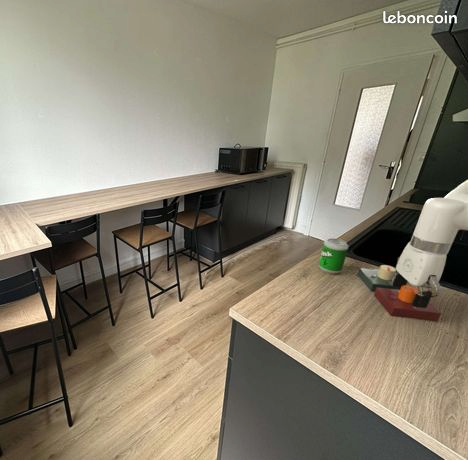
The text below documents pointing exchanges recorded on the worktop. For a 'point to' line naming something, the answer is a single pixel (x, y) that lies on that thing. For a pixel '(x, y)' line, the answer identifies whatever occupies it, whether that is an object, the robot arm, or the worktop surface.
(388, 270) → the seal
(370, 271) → the handle plate
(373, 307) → the worktop surface
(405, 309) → the handle plate
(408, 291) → the seal
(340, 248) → the soda can
